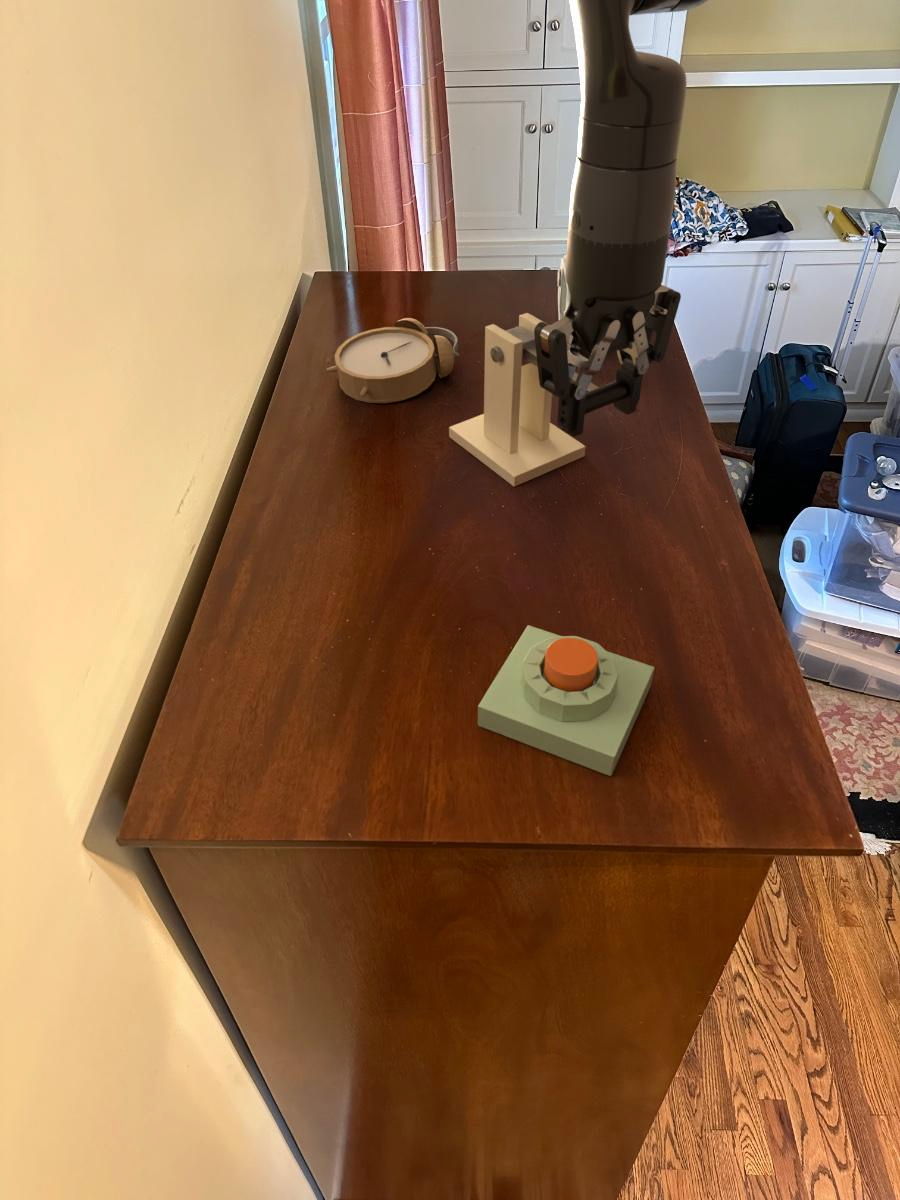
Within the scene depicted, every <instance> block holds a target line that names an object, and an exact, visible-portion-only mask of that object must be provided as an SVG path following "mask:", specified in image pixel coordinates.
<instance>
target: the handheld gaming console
mask: <svg viewBox="0 0 900 1200" xmlns="http://www.w3.org/2000/svg"><path fill="white" fill-rule="evenodd" d="M566 256H567V254H564V255H563V257H561V258H560V267H558V270H557V310H558V321H559V320H560V319H562V318H564V313H565V311H566V308H567V306H568V303H569V300H570V292H569V288H568V285H567V282H566V279H565V270H566ZM579 350H582V349H581V348H580V349H579Z"/></svg>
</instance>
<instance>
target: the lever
mask: <svg viewBox="0 0 900 1200" xmlns="http://www.w3.org/2000/svg"><path fill="white" fill-rule="evenodd" d="M505 331H506V332H508V333H509V334H511V335H513V336H514V337H516V338H518V339H519V340H521V341H523V348H522V366H524V365H526V364H529V363H532V364H533V365H535V366H536V367H538V364H537V355H536V345H535V336H534V334H533V333H532V332H530V331H529V330H527V329H526V328H524V327H522V326H519V325H518V326H515V327H513V328H510V329H506V330H505ZM578 374H579V373H577V372H576V371H575V373H574V375H573V378H572V379H573V380H574V381H576V379H577V376H578ZM628 395H629V386H628V384H627V382H626V381H624V380H623V379H619V380H617V381H616V380H614V381H612V382H609V383H606V384H604V385H602V386H597V385H596V384H594V383H593V382H591V381H590V384H589V386H588V389H587V391H586V393H585V395H584V396H585V397H586V405H585V415H587V414H589V413H592V412H595V411H597V410H599V409H602V408H604V407H606V406H609V405H611V404H613V403H614V402H617V401H619V400H622V399H624V398H626V397H627V396H628Z"/></svg>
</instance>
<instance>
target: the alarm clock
mask: <svg viewBox="0 0 900 1200" xmlns="http://www.w3.org/2000/svg"><path fill="white" fill-rule="evenodd" d="M430 336H433V340H432V339H431V338H430ZM449 340H450V341H452V342H453V343H454V344H453V345H452V343H451V342H450V341H449ZM458 349H459V341H458V336H457V335H456V333H454V332H453V331H452V330H450V329H447V328H445V327H441V326H440V327H439V326H428V327H425V325H424V324H423V323H422V322H421V321H419V320H417V319H414V318H412V317H404V318H402V319H399V320H397V321H396V322H395V324H393V326H385V327H379V328H372V329H369V330H366V331H362V332H360V333H357V334H355V335H353V336H351V337H350V338H347V339H345V341H344V342H342V344H340V345H339V346H338V347H337V350H336V351H335V354H334V361H335V365H333V366H329V367H327V368H326V372H327V373H336V372H337V375H338V381H339V387H340V389H341V390H342V391H343V393H344V394H345V395H346V396H348V397H350V398H352V399H354V400H356V401H360V402H364V403H369V404H389V403H390V404H391V403H394V402H395V403H396V402H402V401H404V400H408V399H410V398H413V397H415V396H418V395H419V394H421V393H423V392H424V391H426V390H428V388H429V387H430V386H432V384H433V383H434V382H435V380H436V377H437V373H438V376H439V378H440V379H442V378H446V377H447V376H449V375H450V374H451V372H452V371H453V368H454V365H455V360H456V358H459V357H460V354H459V352H457V351H458Z"/></svg>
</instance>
